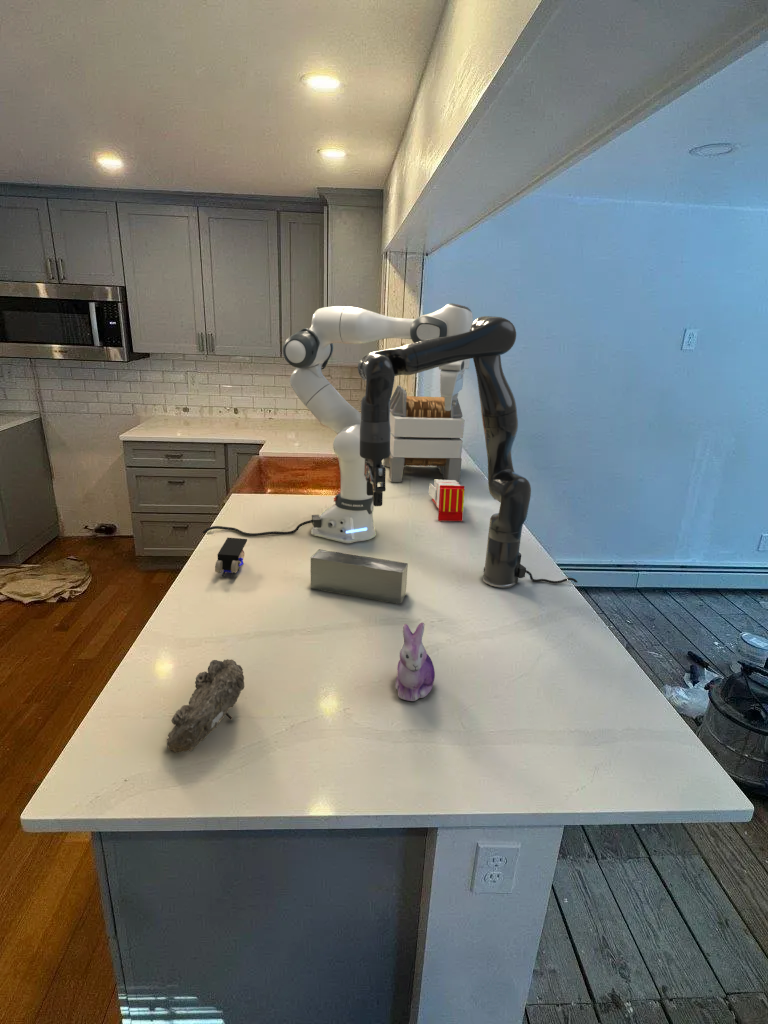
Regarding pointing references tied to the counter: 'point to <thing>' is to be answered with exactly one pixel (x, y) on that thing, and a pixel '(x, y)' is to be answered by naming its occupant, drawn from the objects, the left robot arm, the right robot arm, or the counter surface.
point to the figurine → (414, 666)
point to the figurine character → (230, 556)
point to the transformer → (424, 435)
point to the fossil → (206, 705)
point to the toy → (448, 499)
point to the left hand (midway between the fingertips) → (450, 408)
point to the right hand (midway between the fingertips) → (374, 500)
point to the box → (359, 576)
